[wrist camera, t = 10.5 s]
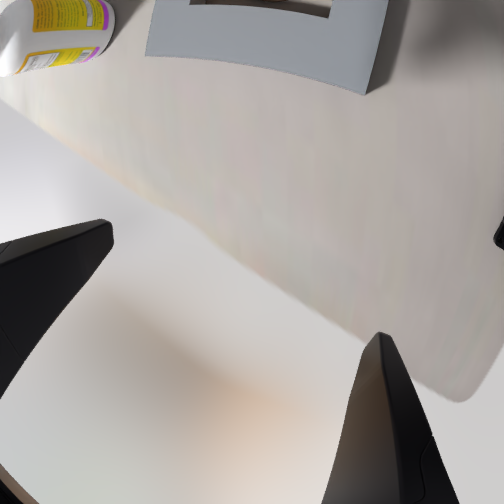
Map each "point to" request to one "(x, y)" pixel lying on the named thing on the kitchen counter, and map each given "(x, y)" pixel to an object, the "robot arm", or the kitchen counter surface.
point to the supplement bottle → (53, 33)
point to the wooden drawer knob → (274, 0)
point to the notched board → (274, 38)
